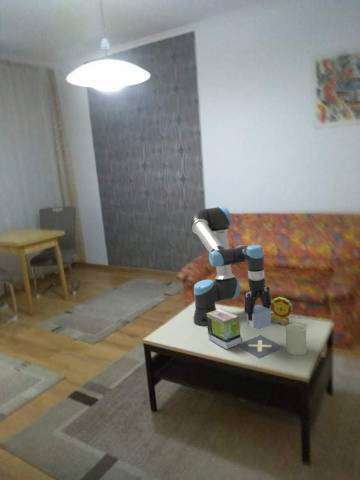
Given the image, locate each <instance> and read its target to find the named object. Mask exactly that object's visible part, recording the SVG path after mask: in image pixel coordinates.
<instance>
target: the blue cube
mask: <svg viewBox="0 0 360 480" xmlns="http://www.w3.org/2000/svg"><path fill="white" fill-rule="evenodd" d="M271 310H272V309H271V308H270V309H269V308H267V307H264V306H263V305H262V304H256V305H255V306H254V310H253V314H254V323H255V327H253V328H255V329H256V330H261V329H264V328H266V327H268V326H271V325H272V321H271V313H272V312H271ZM246 324H247V325H248V326H250V323H249V319H248V314H246Z"/></svg>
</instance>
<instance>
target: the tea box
mask: <svg viewBox="0 0 360 480" xmlns="http://www.w3.org/2000/svg"><path fill="white" fill-rule="evenodd" d="M206 314H207V325H208V326H207V332H208V333H207V335H208V340H210V341H211V342H213V343H215V344H217V345H218V346H220V347H222V348H224V349H226V350H228V349H230V348H233V347H236V346H237V345H238V344H240V343H242V336H241V324H240V322H241V321H240V315H238V314H235V313H232V312H230V311H228V310H226V309H223V308H218V309H216V310H215V311H212V312H209V313H206Z"/></svg>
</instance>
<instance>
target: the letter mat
mask: <svg viewBox="0 0 360 480" xmlns="http://www.w3.org/2000/svg"><path fill="white" fill-rule="evenodd" d="M236 346H237V347H238V348H241V349H242V350H244V351H246V352H248V353H249V354H251V355H253V356H255V357H256V358H258V359H261V358H264V357H266V356H268V355H270V354H272V353H273V352H276V351H278V350H281V349H282V348H285V347H284V345H282V344H280V343H278V342H275V341H274V340H271V339H269V338H267V337H265V336H263V335H261V334H259V335H257V336H255V337H253V338H250V339H248V340H246V341H243V342H241V343H240V344H238V345H236Z"/></svg>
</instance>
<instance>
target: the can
mask: <svg viewBox="0 0 360 480" xmlns="http://www.w3.org/2000/svg"><path fill="white" fill-rule="evenodd" d="M285 339H286V340H285V341H286V342H285V343H286V345H285V346H286V348H285V350H286V352H287V353H288V354H289V355H293V356H302V355H305V354H306V353H307V352H308V351H307V350H308V348H307V327H306V326H305V325H304V324H302V323H296V322H293V323H288V324H287V325H286V326H285Z"/></svg>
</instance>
